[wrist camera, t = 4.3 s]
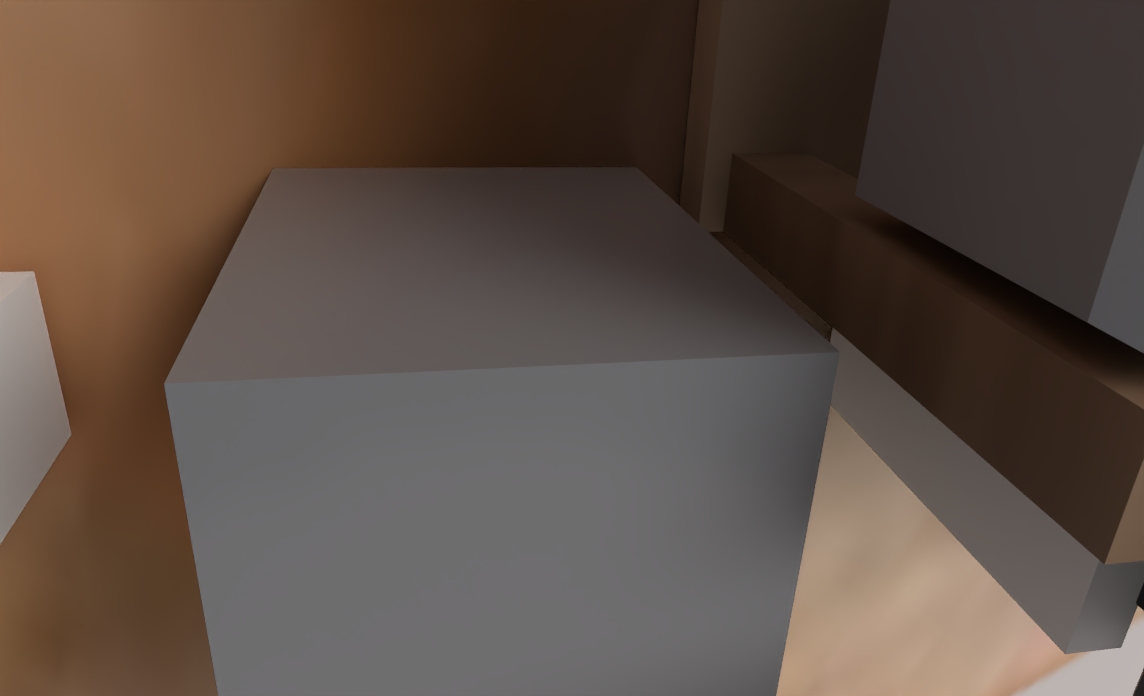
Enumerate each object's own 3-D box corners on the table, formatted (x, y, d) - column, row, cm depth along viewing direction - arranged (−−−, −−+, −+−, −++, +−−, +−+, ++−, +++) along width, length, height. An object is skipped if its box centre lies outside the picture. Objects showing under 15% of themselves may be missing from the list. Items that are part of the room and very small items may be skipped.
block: (306, 483, 15) (247, 866, 9) (272, 167, 13) (164, 383, 7) (615, 462, 16) (757, 791, 10) (635, 166, 14) (839, 352, 8)
